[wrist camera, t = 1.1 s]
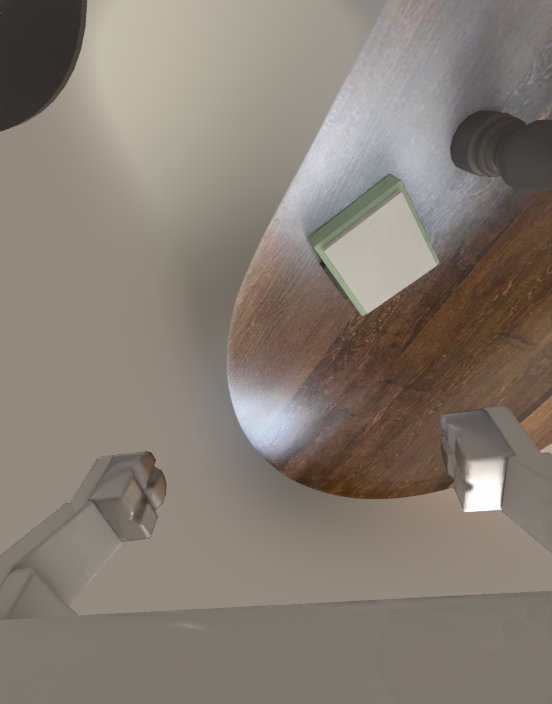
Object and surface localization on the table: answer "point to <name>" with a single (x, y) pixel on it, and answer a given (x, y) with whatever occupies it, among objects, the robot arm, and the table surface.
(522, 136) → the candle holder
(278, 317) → the table surface
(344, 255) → the scale
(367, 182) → the table surface
